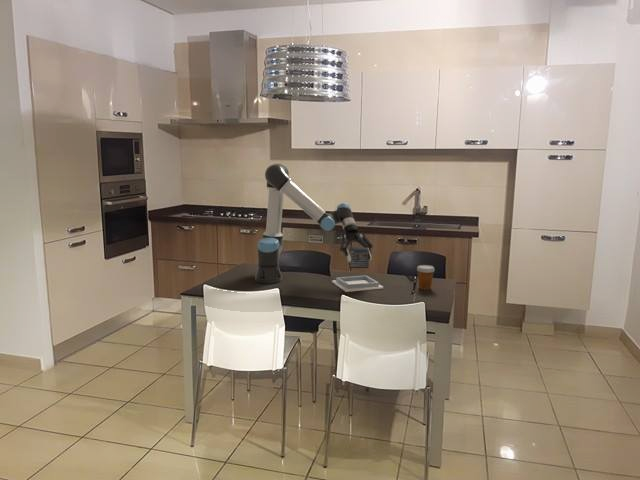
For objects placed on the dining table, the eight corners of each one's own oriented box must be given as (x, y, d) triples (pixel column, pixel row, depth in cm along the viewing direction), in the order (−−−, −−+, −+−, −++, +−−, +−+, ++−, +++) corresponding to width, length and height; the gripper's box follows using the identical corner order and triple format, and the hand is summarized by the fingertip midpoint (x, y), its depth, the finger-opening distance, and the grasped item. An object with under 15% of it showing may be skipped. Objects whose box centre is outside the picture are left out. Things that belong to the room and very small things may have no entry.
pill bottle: (423, 291, 271) (424, 269, 268) (412, 287, 279) (413, 265, 277) (437, 289, 275) (438, 267, 273) (425, 285, 283) (427, 264, 281)
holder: (345, 291, 268) (345, 286, 267) (331, 282, 286) (332, 277, 285) (383, 288, 275) (383, 283, 274) (367, 279, 293) (367, 274, 293)
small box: (367, 265, 281) (368, 247, 279) (368, 268, 275) (369, 249, 273) (348, 265, 282) (349, 246, 280) (349, 268, 275) (349, 249, 273)
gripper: (366, 230, 294) (377, 262, 282) (328, 232, 286) (338, 265, 274) (371, 222, 288) (382, 254, 276) (331, 224, 280) (341, 257, 268)
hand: (360, 259), depth 275 cm, fingers closed on small box, 11 cm apart
